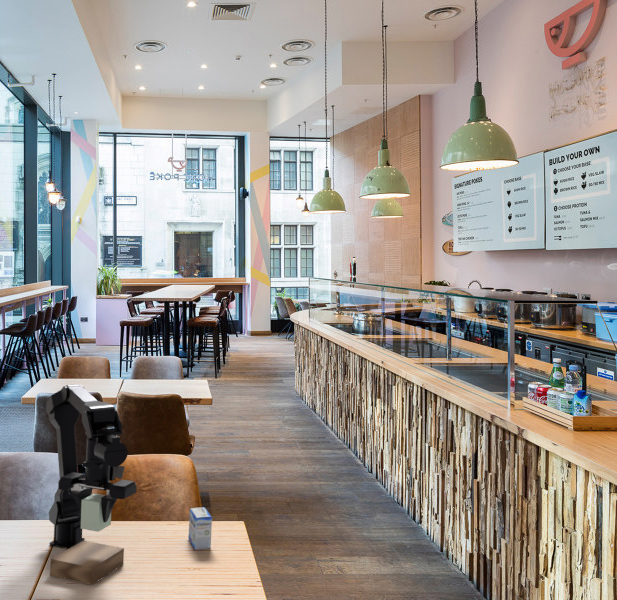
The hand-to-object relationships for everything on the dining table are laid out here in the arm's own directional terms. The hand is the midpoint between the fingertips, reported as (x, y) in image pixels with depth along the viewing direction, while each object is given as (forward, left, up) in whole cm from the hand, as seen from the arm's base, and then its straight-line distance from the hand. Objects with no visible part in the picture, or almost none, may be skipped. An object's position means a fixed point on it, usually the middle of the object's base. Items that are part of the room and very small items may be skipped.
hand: (96, 520), depth 155 cm
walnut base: (-1, -1, -12) cm, 12 cm away
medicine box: (+16, +24, -12) cm, 31 cm away
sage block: (0, 0, -2) cm, 2 cm away
